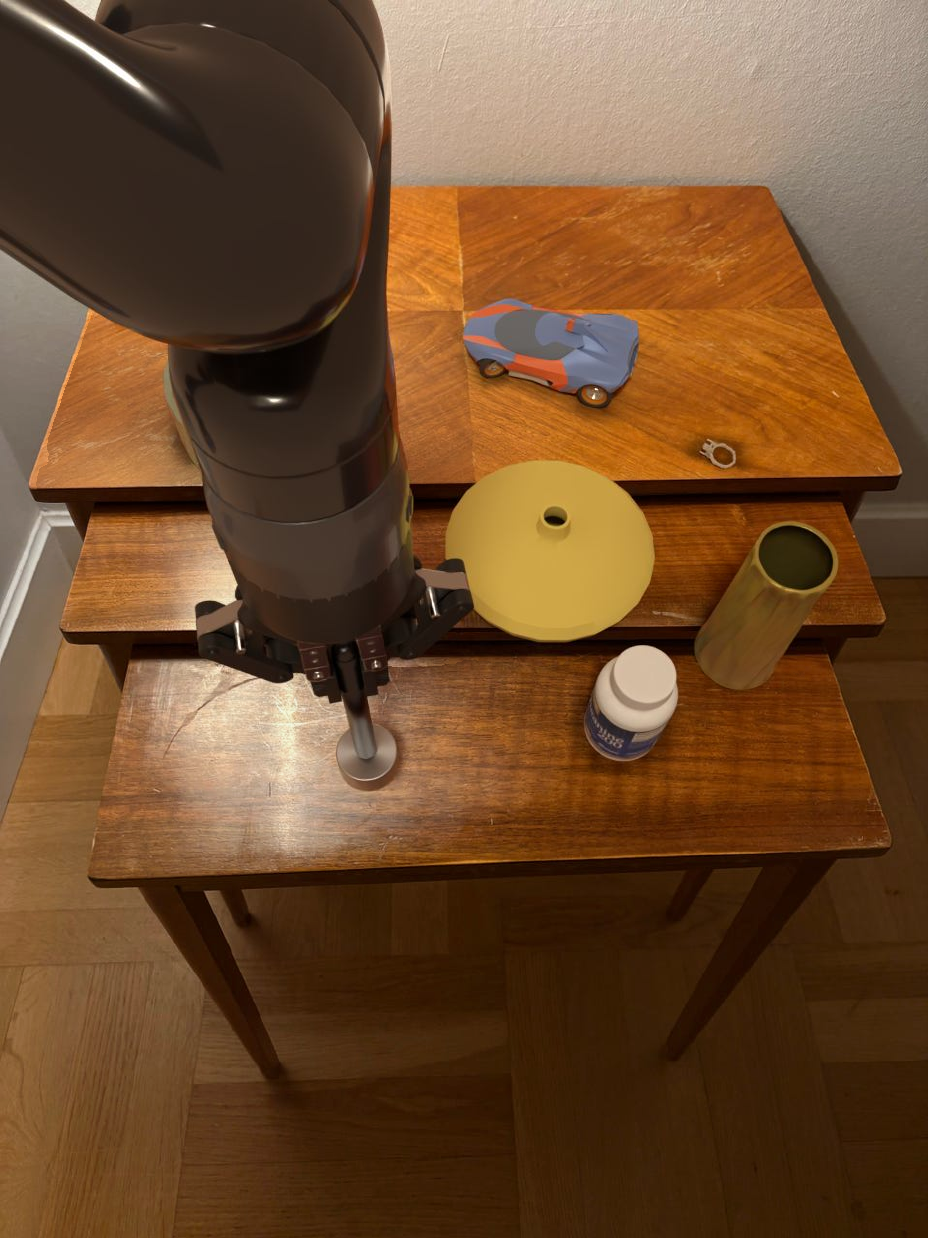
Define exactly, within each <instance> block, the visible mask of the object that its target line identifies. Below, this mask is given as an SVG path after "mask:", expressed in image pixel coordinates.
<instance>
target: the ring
mask: <svg viewBox="0 0 928 1238" xmlns="http://www.w3.org/2000/svg"><path fill="white" fill-rule="evenodd" d="M706 441H708V442H709V443H710V444H708V443H707V442H704V443H703V444H702V446H701V447H702V450H704V451H705V452H703V451H702V450H699V454H702V455H703V456H705V457H706V458H707V459H710V461H711V463H712V465H714V466H717V467H719V468H720V469H723V470H724V469H725V470H726V469H728V468H732V467H733V466H734V465H735V464H736V460H737V455H736V451H735V450H734V449H733V448H732V447H730V446H728V445H727V444H726V443H722V442H721V443H717V441H713V440H712V439H709V438H707V439H706ZM716 448H723V449H725V450H727V451H729V452H730V453H731V455H732V462H731V463H729V464H722V463H719V462H718V461H717V460H716V459H715V458H714V455H713V453H714V451H715V449H716Z"/></svg>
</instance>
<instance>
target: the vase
mask: <svg viewBox="0 0 928 1238" xmlns="http://www.w3.org/2000/svg"><path fill="white" fill-rule="evenodd" d="M838 571H839V556H838V552H837V550H836V547H835V546H834V544H833V543H832V542H831V540H830V539H829V538H828V537H827V536H826V535H825V534H824V533H823V532H821V531H820V530H818V529H817V528H816V527H814V526H811V525H809V524H807V523H805V522H801V521H800V522H799V521H793V520H789V521H787V520H786V521H781V522H777V523H773V524H771V525H769V526H768V527H766V528H765V529H764V530H762V532H760V534H759V536H758V537H757V540H756V541H755V543H754V544H753V545H752V546H751V549H750V551H748V553H747V555H746V557H745V559H744V561H743V563H742V564H741V566H740V568H739V569H738V571H737V572H736V574H735V575H734V578H733V579H732V580H731V582H730V584H729V586H728V587H727V588H726V590H725V592H724V594H723V595H722V596H721V599H720V601H719V602H718V604H717V605H716V606H715V608H713V611H712V612H711V614H710V616H709V617H708V619H707V621H705V623H703V624H702V626H701V627H700V628H699V630H698V632H697V635H696V637H695V639H694V645H693V647H694V648H693V650H694V651H693V652H694V656H695V660H696V662H697V664H698V667H699V668H700V670H701V671H702V672H703V673H704V675H706V677H707V678H709V679H710V680H711V681H712V682H714V683H715V684H717V685H719V686H720V687H723V688H725V689H730V690H735V691H748V690H752V689H755V688H757V687H760V686H762V685H763V684H765V683H766V682H767V681H768V680H769V679H770V677H771V676H772V674H773V673H774V672H775V670H776V666H777V664H778V662H780V660H781V659H782V657H783V656H784V654H785V653H786V651H787V650H788V648H789V647H790V644H791V643H792V642H793V640H794V639H795V638H796V636H797V634H798V633H799V631H800V630H801V629H802V627H803V625H804V623H805V621H806V619H807V618H808V616H809V615H810V613H811V611H812V609H813V607H814V606H815V604H816V602H817V601H818V599H819V598H820V597H821V596H822V595H823V594H824V593H825V592H826V591H827V590H828V588H829V587H830V586H831V584H832V583H833V581H834V579H835V578H836V575H837V573H838Z"/></svg>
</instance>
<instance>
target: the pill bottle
mask: <svg viewBox="0 0 928 1238" xmlns="http://www.w3.org/2000/svg"><path fill="white" fill-rule="evenodd" d="M589 698H590V699H589V701H588V704H587V706H586V709H585V712H584V717H583V730H584V733H585V736H586V739H587V741H588V743H589V744H590V745H591V748H593V749H594V750H595V751H596V752H598V753H599V754H600V755H601V756H602V757H604V758H607V759H609V760H612V761H617V762H631V761H635V760H637V759H640V758H642V757H643V756H645V755H646V754H648V753H649V752H650V751H651V750H652V748H653V747H654V746H655V744H656V743H657V742H658V739H659V738H660V736H661V734H662V733H663V730H664V729H665V728H666V726H667V724H668V723H669V721H670V720H671V718H672V717H673V714H674V713H675V711H676V708H677V705H678V702H679V701H678V700H679V689H678V684H677V670H676V666H675V665H674V662H673V661H672V660H671V658H670V657H669V656H668V655H667V654H666V653H665V652H663V651H662V650H661V649H658V648H656V647H655V646H650V645H645V644H644V645H643V644H642V645H641V644H640V645H634V646H632V647H628V648H626V649H625V650H624V651H622V652H621V653H620V654H619V655H618V656H616V657H614V658H612V659H611V660H609V661H608V662H607V663H606V664H605V665H604V666H603V668H602V669H601V670H600V672H599V673H598V675H597V678H596V682H595V684H594V687H593V689H592V692H591V695H590V697H589Z"/></svg>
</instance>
